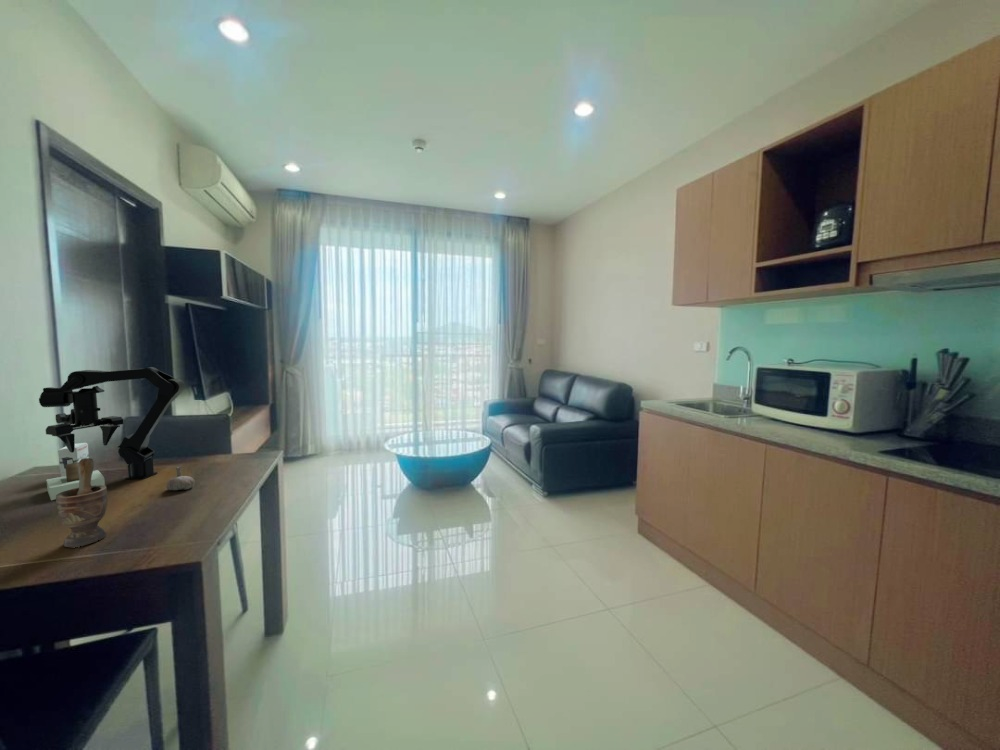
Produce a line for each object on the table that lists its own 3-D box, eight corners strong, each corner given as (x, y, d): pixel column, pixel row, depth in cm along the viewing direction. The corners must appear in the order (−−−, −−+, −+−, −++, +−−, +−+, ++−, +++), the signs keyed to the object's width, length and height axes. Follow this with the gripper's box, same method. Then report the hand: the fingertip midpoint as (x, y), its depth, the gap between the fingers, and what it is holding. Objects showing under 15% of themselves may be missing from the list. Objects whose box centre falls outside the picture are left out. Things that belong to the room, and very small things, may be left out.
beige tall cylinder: (88, 487, 130) (86, 462, 129) (76, 492, 126) (73, 466, 125) (77, 487, 130) (74, 462, 129) (64, 492, 126) (61, 466, 125)
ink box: (72, 473, 143) (69, 443, 142) (90, 471, 146) (88, 442, 145) (60, 481, 136) (57, 449, 135) (79, 479, 138) (76, 447, 137)
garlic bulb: (161, 491, 128) (159, 468, 127) (185, 484, 135) (184, 462, 134) (176, 494, 125) (174, 471, 125) (200, 486, 132) (198, 464, 132)
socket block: (99, 480, 136) (98, 470, 136) (105, 488, 129) (104, 477, 129) (47, 491, 127) (46, 479, 126) (50, 500, 120) (49, 488, 119)
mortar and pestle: (54, 539, 97) (46, 463, 95) (102, 525, 104) (96, 455, 102) (64, 553, 91) (57, 472, 89) (114, 537, 98) (108, 462, 96)
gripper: (101, 400, 144) (105, 440, 146) (32, 409, 126) (36, 454, 128) (123, 402, 142) (126, 442, 143) (55, 410, 124) (59, 457, 125)
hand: (89, 448), depth 135 cm, fingers open, 9 cm apart
